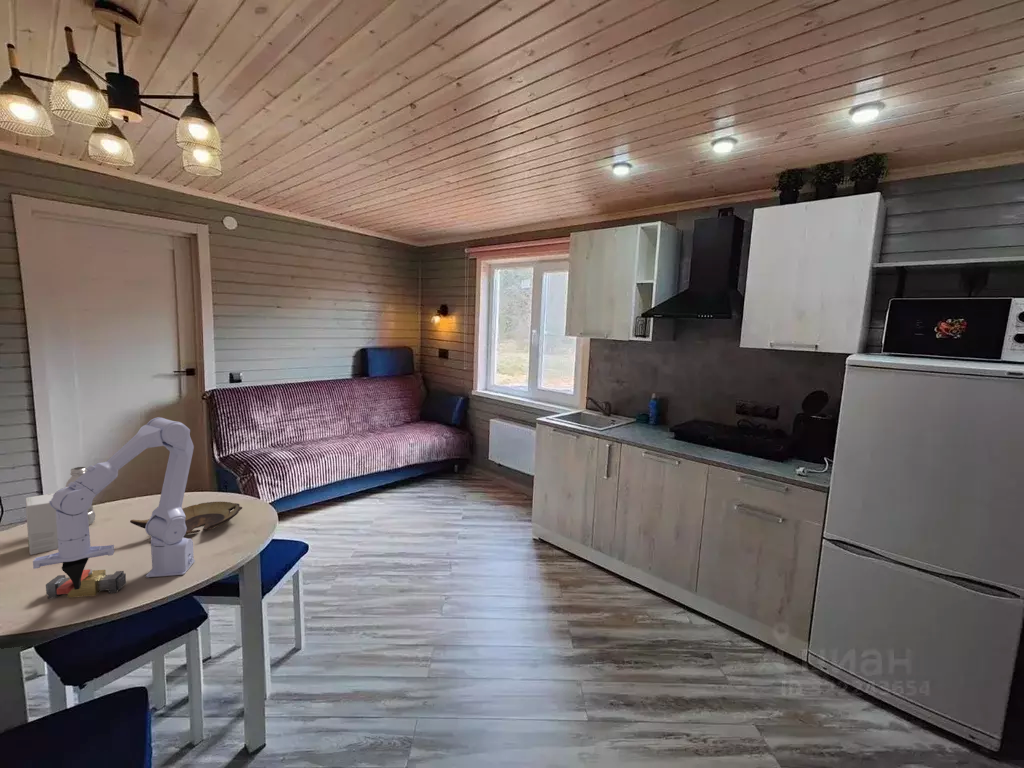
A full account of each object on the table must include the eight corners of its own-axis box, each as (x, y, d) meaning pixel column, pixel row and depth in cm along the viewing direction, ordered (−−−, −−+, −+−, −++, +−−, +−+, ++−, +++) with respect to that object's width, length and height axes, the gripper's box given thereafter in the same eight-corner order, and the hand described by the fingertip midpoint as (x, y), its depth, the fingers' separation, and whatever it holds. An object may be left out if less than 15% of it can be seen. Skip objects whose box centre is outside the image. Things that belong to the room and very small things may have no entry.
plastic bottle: (98, 524, 159) (95, 468, 156) (72, 531, 153) (68, 473, 151) (92, 519, 162) (88, 464, 160) (66, 525, 157) (61, 468, 154)
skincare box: (28, 545, 143) (24, 497, 141) (58, 539, 148) (54, 492, 146) (29, 556, 137) (25, 505, 135) (60, 548, 142) (56, 500, 140)
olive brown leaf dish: (237, 536, 156) (236, 515, 155) (125, 549, 144) (124, 526, 143) (245, 510, 176) (245, 491, 175) (148, 520, 164) (147, 499, 163)
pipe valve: (128, 583, 127) (127, 567, 126) (118, 593, 122) (117, 576, 122) (56, 589, 123) (55, 572, 122) (43, 599, 118) (42, 582, 117)
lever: (83, 572, 123) (83, 567, 122) (94, 571, 123) (94, 566, 123) (56, 594, 113) (55, 589, 113) (68, 594, 113) (67, 588, 113)
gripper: (115, 523, 121) (118, 572, 123) (37, 535, 113) (42, 587, 115) (110, 534, 115) (113, 585, 117) (28, 547, 108) (33, 602, 109)
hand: (77, 587), depth 116 cm, fingers closed, pressing on lever
